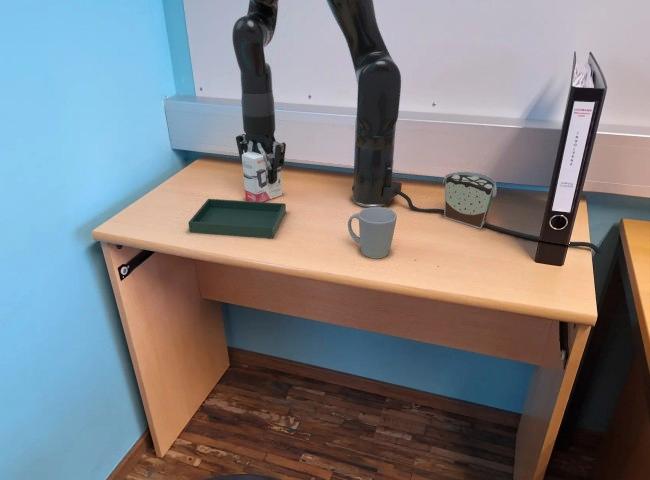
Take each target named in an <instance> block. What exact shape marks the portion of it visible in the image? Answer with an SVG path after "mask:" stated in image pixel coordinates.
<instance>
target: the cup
mask: <svg viewBox="0 0 650 480" xmlns="http://www.w3.org/2000/svg"><path fill="white" fill-rule="evenodd" d="M353 219H357V220H358V230H359V236H358V235H357V234H356V233H355V232H354V230H353V228H352V222H353ZM397 219H398V214H397V213H396V212H395V211H394V210H393V209H390V208H387V207H384V206H382V207H365V208H364V209H361V210H360V211H359V212H357V213H354V214H352V215H351V216H350V217H349V219H348V221H347V231H348V233H349V236H350V237H351V239H352V240H353V241H354V242H356V243H357V244H358V245H360V249H361V253H362V255H363V256H365V257H367V258H370V259H383V258H385V257H387V256H389V254H390V251H391V247H392V242H393V238H394V235H395V234H394V233H395V228H396V224H397Z"/></svg>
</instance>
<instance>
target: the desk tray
mask: <svg viewBox="0 0 650 480" xmlns="http://www.w3.org/2000/svg"><path fill="white" fill-rule="evenodd" d="M286 206H287V204H286V203H285V202H267V201H265V202H253V201H248V200H237V199H236V200H235V199H217V198H207V199H206V201H205V202H204V203H203V204H202V206H201V207H200V208H199V209H198V210H197V211H196V212H195V214H194V215H193V216H192V217H191V218H190V220H189V221H188V228H189V233H191V234H195V233H196V234H209V235H221V236H234V237H235V236H236V237H247V238H249V237H250V238H262V239H274V237H275V235H276V233H277V231H278V230H279V227H280V225H281V224H282V222H283V220H284V218H285V216H286V214H287V209H286V208H287V207H286Z"/></svg>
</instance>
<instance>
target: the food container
mask: <svg viewBox="0 0 650 480" xmlns="http://www.w3.org/2000/svg"><path fill="white" fill-rule="evenodd" d="M442 184H444V203H443V204H444V205H443V206H444V207H443V208H444V214H443V218H444V219H448V220H451V221H454V222H458V223H460V224H463V225H467V226H469V227H473V228H476V229H480V230H482V229H484V226H483V225H484V223H485V222H486V220H487V215H488V212H489V209H490V206H491V203H492V199H493V198H495V197H496V196H497V193H498V191H497V183H496V180H495V179H493V178H492V177H491V176H489V175H486V174H483V173H479V172H473V171H455V172H450V173H447V174H445V176H444V177H443V181H442Z"/></svg>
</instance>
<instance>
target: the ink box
mask: <svg viewBox="0 0 650 480" xmlns="http://www.w3.org/2000/svg"><path fill="white" fill-rule="evenodd" d="M271 155H272V153H269V154H267V156H271ZM241 163H242V173H243V174H242V175H243V186H244V196H245V201H253V202H267V201H269V200H273V199H275V198H277V197H280V196H283V188H282V187H283V185H282V183H283V182H282V167H280V168H277V181H276V182H275V183H274V184H269V183H268V167H267V164H266V162H265V161H264V159H263V156H262V155H261V154H259V153H255V152H246V153H243V154H242V160H241ZM271 163H272V159H271Z"/></svg>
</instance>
